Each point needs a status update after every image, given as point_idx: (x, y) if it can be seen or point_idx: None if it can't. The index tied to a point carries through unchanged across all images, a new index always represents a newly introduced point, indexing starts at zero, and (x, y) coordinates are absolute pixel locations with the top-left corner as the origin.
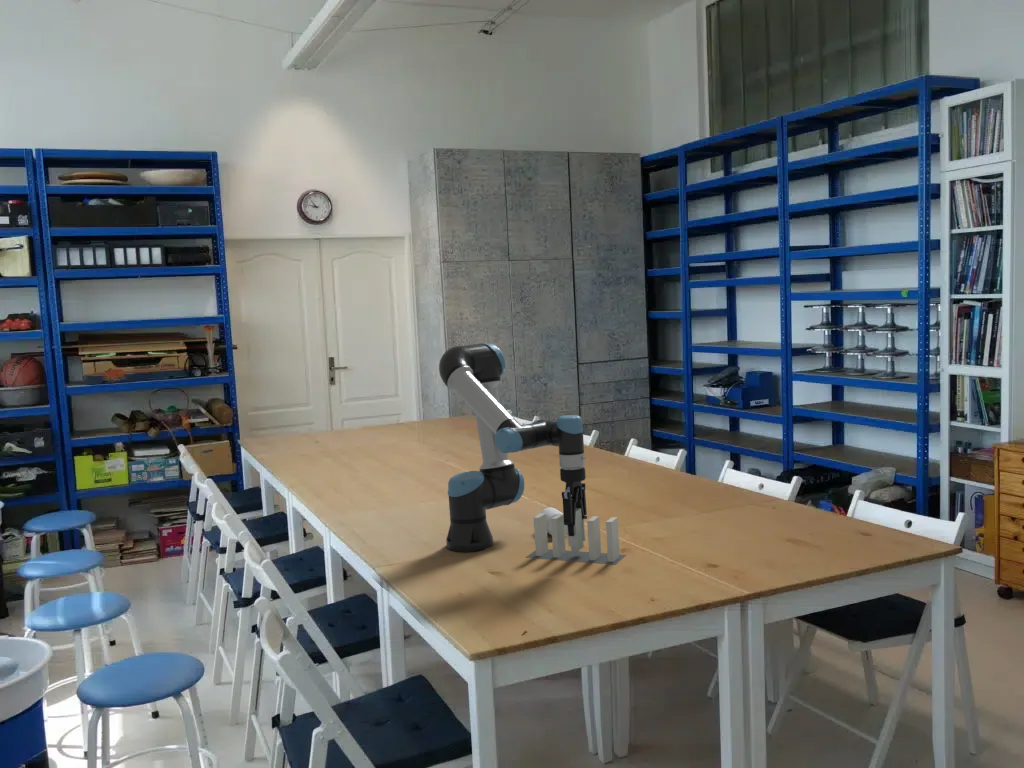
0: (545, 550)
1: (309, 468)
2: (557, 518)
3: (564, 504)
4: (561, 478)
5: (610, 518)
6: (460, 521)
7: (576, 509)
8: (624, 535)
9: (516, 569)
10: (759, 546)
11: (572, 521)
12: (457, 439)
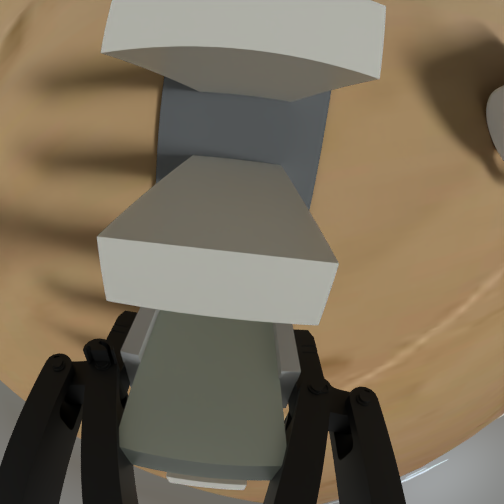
0: (257, 95)
1: None
2: (128, 303)
3: (5, 481)
4: None
5: (221, 484)
6: None
7: (221, 473)
8: (460, 326)
9: (41, 74)
10: (325, 472)
11: (81, 406)
12: None
